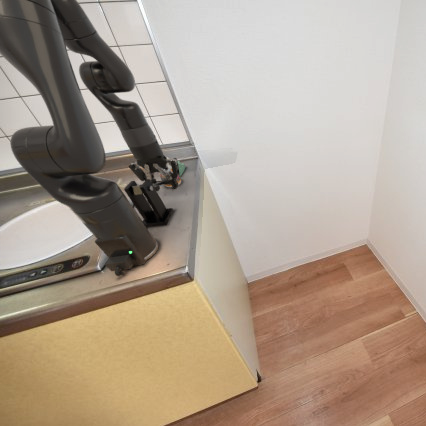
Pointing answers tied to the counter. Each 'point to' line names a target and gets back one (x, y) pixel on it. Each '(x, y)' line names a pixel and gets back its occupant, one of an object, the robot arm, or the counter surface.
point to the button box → (181, 168)
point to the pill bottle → (167, 178)
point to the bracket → (150, 215)
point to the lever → (157, 183)
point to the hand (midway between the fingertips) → (167, 188)
